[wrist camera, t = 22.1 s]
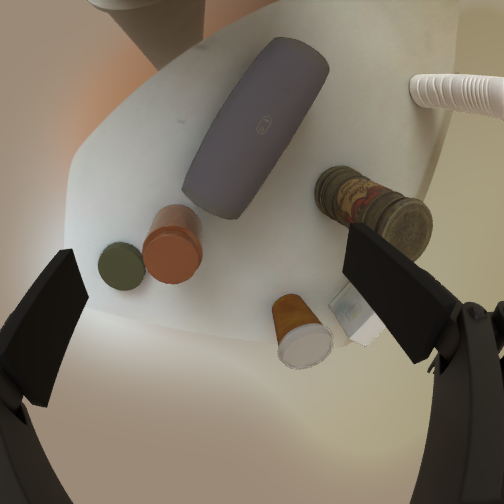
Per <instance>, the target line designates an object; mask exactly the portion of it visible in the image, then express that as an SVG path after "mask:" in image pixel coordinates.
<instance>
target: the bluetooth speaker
mask: <svg viewBox="0 0 504 504" xmlns="http://www.w3.org/2000/svg"><path fill="white" fill-rule="evenodd" d="M328 73H329V65H328V63H327V61H326V59H325V58H324V57H323V56H322V55H321V54H320V53H319V52H318V51H316V50H315V49H314V48H312V47H311V46H309V45H307V44H305V43H303V42H301V41H299V40H296V39H291V38H283V37H278V38H274V39H273V40H272V41H271V42H270V43H269V44H268V45H267V46H266V47H265V48H264V50H263V51H262V52H261V53H260V54H259V55H258V57H257V58H256V59H255V61H254V62H253V63H252V65H251V66H250V67H249V68H248V70H247V71H246V73H245V74H244V75H243V77H242V78H241V79H240V81H239V82H238V84H237V85H236V87H235V88H234V90H233V91H232V93H231V94H230V96H229V97H228V99H227V100H226V102H225V103H224V105H223V107H222V108H221V110H220V111H219V113H218V115H217V117H216V118H215V120H214V122H213V123H212V125H211V127H210V129H209V131H208V133H207V134H206V136H205V138H204V140H203V142H202V144H201V146H200V148H199V150H198V152H197V154H196V156H195V158H194V160H193V162H192V164H191V166H190V168H189V171H188V173H187V175H186V178H185V181H184V183H183V186H182V189H181V190H182V191H183V193H184V194H185V195H186V196H187V197H188V198H189V199H190V200H191V201H192V202H193V203H194V204H195V205H197V206H198V207H200V208H202V209H204V210H205V211H207V212H209V213H211V214H213V215H216V216H218V217H221V218H224V219H228V220H232V219H238V218H239V217H240V215H241V214H242V213H243V212H244V211H245V209H246V208H247V206H248V205H249V204H250V202H251V201H252V199H253V198H254V196H255V195H256V193H257V192H258V190H259V189H260V187H261V186H262V184H263V183H264V181H265V180H266V178H267V177H268V175H269V173H270V172H271V170H272V169H273V167H274V166H275V164H276V163H277V161H278V159H279V158H280V156H281V155H282V153H283V152H284V150H285V149H286V148H287V146H288V145H289V143H290V142H291V139H292V138H293V135H294V134H295V132H296V131H297V129H298V127H299V126H300V124H301V122H302V121H303V119H304V117H305V115H306V114H307V112H308V110H309V109H310V107H311V105H312V104H313V102H314V100H315V98H316V97H317V95H318V93H319V91H320V90H321V88H322V86H323V84H324V82H325V80H326V78H327V75H328Z"/></svg>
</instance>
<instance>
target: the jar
mask: <svg viewBox="0 0 504 504" xmlns="http://www.w3.org/2000/svg"><path fill="white" fill-rule="evenodd" d="M142 255H143V259H144V263H145V267H146V268H147V270H148V272H149V273H150V274H151V275H152V276H153V277H154V278H155V279H157V280H158V281H160V282H163V283H165V284H172V285H173V284H179V283H182V282H184V281H186V280H188V279H189V278H191V277H192V276H193V274H194V273H195V271H196V270H197V269H198V267H199V266H200V263H201V261H202V229H201V222H200V219H199V217H198V216H197V214H196V213H195V212H194V211H193V210H192V209H190V208H188V207H186V206H183V205H170V206H167V207H165V208H163V209H161V210H160V211H159V212H158V213H157V215H156V216H155V218H154V220H153V222H152V225H151V227H150V229H149V232H148V234H147V237H146V239H145V241H144V244H143V249H142Z"/></svg>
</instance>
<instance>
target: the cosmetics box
mask: <svg viewBox="0 0 504 504" xmlns="http://www.w3.org/2000/svg"><path fill="white" fill-rule="evenodd" d="M329 307H330V309H331V310H332V312H333V313H334V315H335V317H336V318H337V320H338V322H339V323H340V325H341V326H342V328H343V330H344V331H345V333H346V335H347V336H348V338H349V339H350V340H351V341H353V342H356V343H358V344H360V345H362V346H364V347H367V346H368V345H369V344H370V343H371V342H372V341H373V340H374V339H375V338H376V337H377V336H378V335H379V334H380V333H381V332H382V331H383V330H384V329H385V328H386V326H385V325H384V323H383V322H382V321H381V320H380V318H379V317H378V316H377V314H376V313H375V312H374V311H373V309H372V308H371V307H370V306H369V304H368V303H367V302H366V301H365V299H364V298H363V297H362V296H361V294H360V293H359V292H358V291H357V289H356V288H355V287H354V286H353V285H352V283H351V282H349V283H348V284H347V285H346V286H345V287H344V289H343V290H342V291H341V292H340V293H339V294H338V295H337V296H336V298H335V299H334V300H333V301H332V302H331V303H330V304H329Z"/></svg>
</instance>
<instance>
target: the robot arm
mask: <svg viewBox="0 0 504 504" xmlns="http://www.w3.org/2000/svg"><path fill="white" fill-rule="evenodd" d="M342 273H343V274H344V275H345V276H346V277H347V279H348V280H349V281H350V282H351V283H352V285H353V286H354V287H355V288H356V289H357V291H358V292H359V293H360V294H361V296H362V297H363V298H364V299H365V301H366V302H367V303H368V304H369V306H370V307H371V308H372V309H373V311H374V312H375V313H376V314H377V316H378V317H379V318H380V320H381V321H382V322H383V323H384V325H385V326H386V327H387V329H388V330H389V331H390V332H391V334H392V335H393V336H394V338H395V339H396V341H397V342H398V343H399V344H400V346H401V347H402V349H403V350H404V351H405V353H406V354H407V355H408V357H409V358H410V359H411V361H412V362H413V364H416V363H418V362H421V361H423V360H425V359H427V358H428V357H429V355H430V354H431V352H432V350H433V348H434V347H435V348H436V349H437V350H438V354H437V355H436V357H435V358H434V360H433V362H432V363H431V365H430V367H429V368H428V371H427V372H428V373H430V371H431V370H432V368H433V367H435V370H434V372H433V374H434V386H433V397H432V406H431V415H430V422H429V428H428V434H427V439H426V444H425V450H424V454H423V458H422V462H421V467H420V470H419V475H418V478H417V482H416V485H415V488H414V491H413V495H412V498H411V501H410V504H504V356H503V357H502V358H501V359H500V358H499V355H498V354H499V353H500V351H501V350H502V348H503V346H504V301H500V302H499V303H498V305H497V306H496V308H495V310H494V312H487V311H486V310H485V309H484V308H483V307H482V306H480V305H479V304H476V303H474V302H466V303H465V304H462V303H461V302H460V301H459V300H458V299H457V298H456V297H455V296H454V295H453V294H452V293H451V292H449V290H447V289H446V288H445V287H444V286H443V285H442V286H441V283H440V282H439V281H437V280H435V278H434V277H433V276H432V275H431V274H429V273H428V272H427V271H425V270H423V269H421V268H420V267H418V266H417V265H416V264H415V263H414V262H413V261H411V260H410V259H409V258H408V257H407V256H405V255H404V254H403V253H402V252H400V251H399V250H398V249H397V248H395V247H394V246H393V245H392V244H390V243H389V242H388V241H387V240H385V239H384V238H383V237H382V236H380V235H379V234H378V233H376V232H375V231H374V230H372V229H371V228H370V227H368V226H367V225H366V224H364V223H363V222H361V223H350V227H349V234H348V240H347V247H346V253H345V259H344V265H343V271H342ZM88 298H89V296H88V294H87V291H86V289H85V286H84V283H83V280H82V277H81V274H80V272H79V269H78V265H77V262H76V259H75V256H74V253H73V249H65V250H59V252H58V253H57V254H56V255H55V256H54V258H53V259H52V260H51V261H50V262H49V264H48V265H47V266H46V267H45V269H44V270H43V271H42V273H41V274H40V275H39V276H38V278H37V279H36V280H35V282H34V283H33V284H32V286H31V287H30V289H29V290H28V292H27V293H26V294H25V296H24V297H23V299H22V300H21V301H20V303H19V304H18V306H17V307H16V309H15V310H14V311H13V312H12V313H11V314H10V315H9V317H8V318H7V320H6V322H5V323H4V324H5V325H3V326H2V328H1V330H0V504H73V502H72V501H71V499H70V498H69V496H68V494H67V493H66V491H65V490H64V488H63V486H62V485H61V483H60V481H59V479H58V478H57V476H56V474H55V472H54V470H53V469H52V467H51V465H50V463H49V461H48V459H47V457H46V455H45V452H44V450H43V448H42V446H41V444H40V441H39V439H38V437H37V435H36V432H35V430H34V427H33V425H32V422H31V419H30V417H29V414H28V411H27V408H26V406H25V405H24V403H23V402H22V398H23V395H24V396H25V397H26V398H27V399H28V400H29V401H30V403H31V404H32V405H36V406H41V407H46V408H47V406H48V402H49V399H50V396H51V392H52V389H53V386H54V383H55V380H56V377H57V373H58V371H59V368H60V365H61V362H62V360H63V357H64V354H65V352H66V349H67V346H68V344H69V341H70V339H71V337H72V334H73V332H74V329H75V326H76V325H77V322H78V320H79V318H80V315H81V313H82V311H83V309H84V307H85V304H86V302H87V300H88Z"/></svg>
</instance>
